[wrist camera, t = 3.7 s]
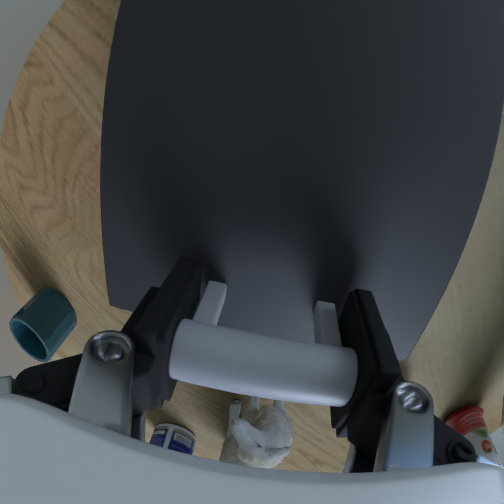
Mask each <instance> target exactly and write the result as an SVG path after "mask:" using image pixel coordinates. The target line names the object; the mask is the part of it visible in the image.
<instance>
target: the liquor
mask: <svg viewBox="0 0 504 504" xmlns="http://www.w3.org/2000/svg"><path fill="white" fill-rule="evenodd" d="M445 423H446V424H447V425H449V426H450V427H451V428H453V429H454V430H455V431H457V432H458V433H460V434H461V435H462V436H464V437H465V438H466V439H468V440H469V441H470V442H471V443H472V445H473V447H474V449H475V452H476V455H477V454H478V453H480V454H482V455H484V456H486V457H487V458H489V459H491V460H493V461H494V462H496V463H498V464H500V465H501V463H500V460H499V458H498V455H497V452H496V449H495V447H494V444H493V442H492V439H491V437H490V434H489V431H488V429H487V426H486V424H485V422H484V419H483V409H482V408H480V407H474V406H465V407H462V408H460V409H458V410H456V411H455V412H453V413H452V414H450V415H449V416H448V417H447V418H446V420H445Z"/></svg>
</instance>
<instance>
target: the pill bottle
mask: <svg viewBox="0 0 504 504" xmlns="http://www.w3.org/2000/svg"><path fill="white" fill-rule="evenodd" d="M150 444H153V445H156V446H160V447H163V448H166V449H170V450H174V451H177V452H181V453H185V454H189V455H192V452H193V449H194V445H195V437H194V435H193V434H192V433H191V432H190V431H188V430H187V429H185V428H183V427H180V426H178V425H174V424H169V423H162V424H159V425H157V426H156V427H155V429H154V432H153V435H152V437H151V440H150Z"/></svg>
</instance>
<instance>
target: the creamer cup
mask: <svg viewBox="0 0 504 504" xmlns="http://www.w3.org/2000/svg"><path fill="white" fill-rule="evenodd" d="M9 324H10V329H11V332H12V334H13V336H14V338H15V340H16V341H17V342H18V344H19V345H20V346H21V347H22V349H23V350H25V352H27V353H28V354H29V355H30V356H31V357H33V358H34V359H36V360H38V361H40V362H47V361H49V360H50V358H51V357H52V356H53V354H54V353H55V352H56V351H57V349H58V348H59V347H60V345H61V344H62V343H63V341H64V340H65V339H66V338H67V336H68V335H69V334H70V333H71V331H72V330H73V329H74V327H75V325H76V315H75V312H74V310H73V308H72V306H71V304H70V303H69V302H68V300H67V299H66V298H65V297H64V296H63V295H62V294H61V293H59V292H58V291H56V290H54V289H52V288H43V289H41V290H40V291H39V292H38V293H37V294H36V295H34V296H33V297H32V298H31V299H30V300H29V301H28V302H27V303H26V304H25V305H24V306H23V307H22V308H21V309H20V310H19V311H18V312H17V313H16V314H15V315H14V316H13V317H12V318H11V320H10V322H9Z"/></svg>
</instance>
